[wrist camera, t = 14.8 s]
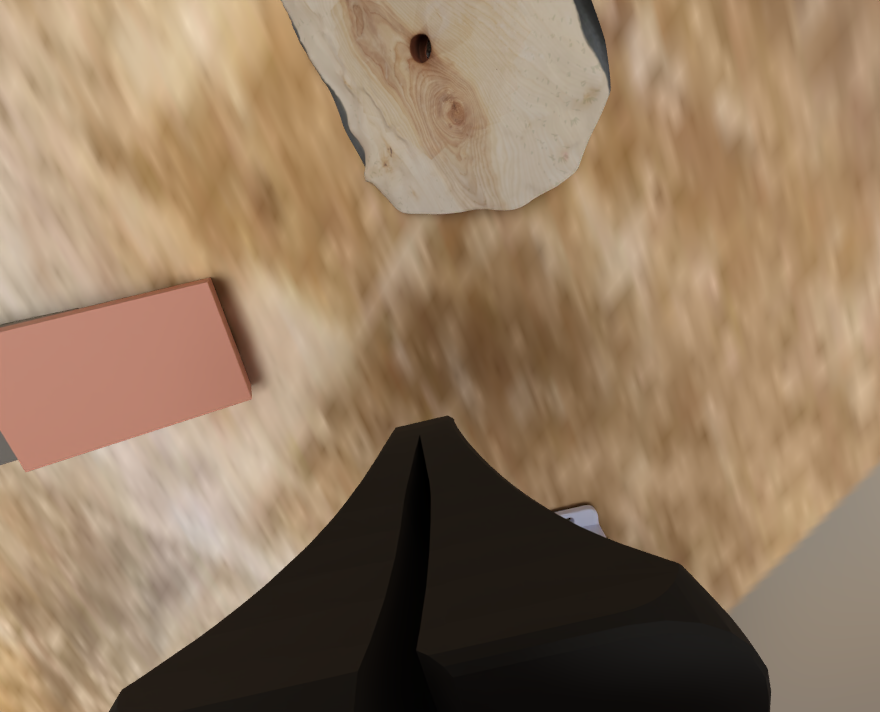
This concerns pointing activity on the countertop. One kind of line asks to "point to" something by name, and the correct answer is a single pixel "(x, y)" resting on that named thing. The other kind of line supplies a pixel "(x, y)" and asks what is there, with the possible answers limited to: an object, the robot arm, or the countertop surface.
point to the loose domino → (116, 372)
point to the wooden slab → (460, 93)
